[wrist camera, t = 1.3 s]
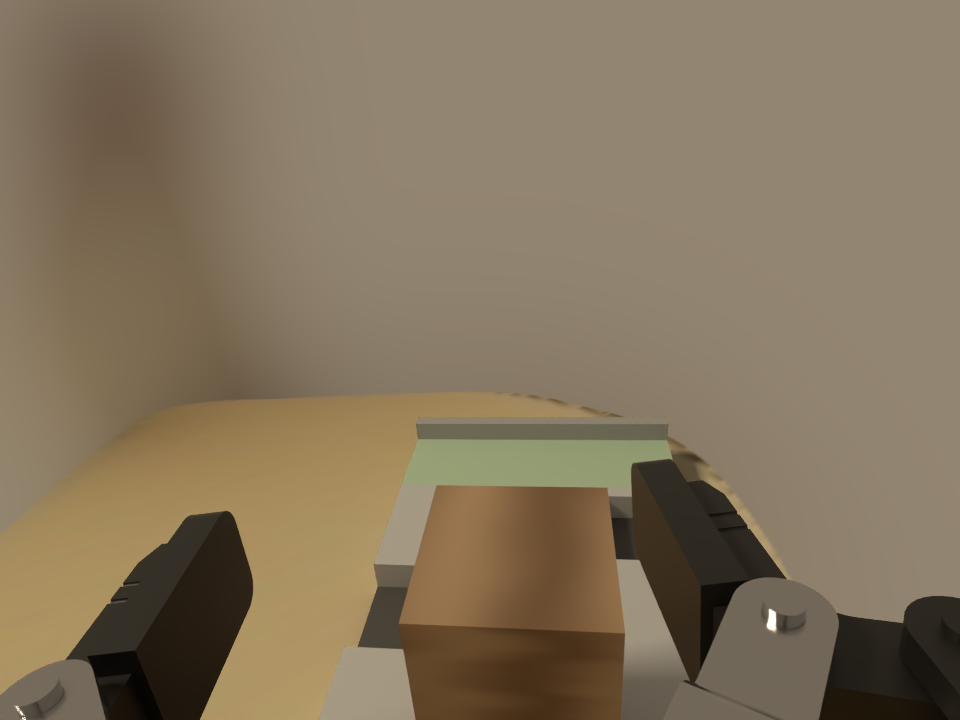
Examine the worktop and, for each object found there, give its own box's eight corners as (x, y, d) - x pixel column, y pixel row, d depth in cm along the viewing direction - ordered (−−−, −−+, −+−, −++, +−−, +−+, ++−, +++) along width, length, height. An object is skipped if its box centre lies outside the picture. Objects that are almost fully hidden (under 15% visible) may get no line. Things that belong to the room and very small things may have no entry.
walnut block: (435, 835, 25) (398, 623, 19) (459, 678, 31) (436, 485, 26) (613, 851, 24) (625, 633, 18) (601, 685, 30) (607, 487, 25)
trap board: (280, 897, 25) (258, 843, 23) (423, 457, 53) (418, 417, 51) (794, 950, 23) (813, 895, 21) (662, 459, 50) (666, 417, 49)
